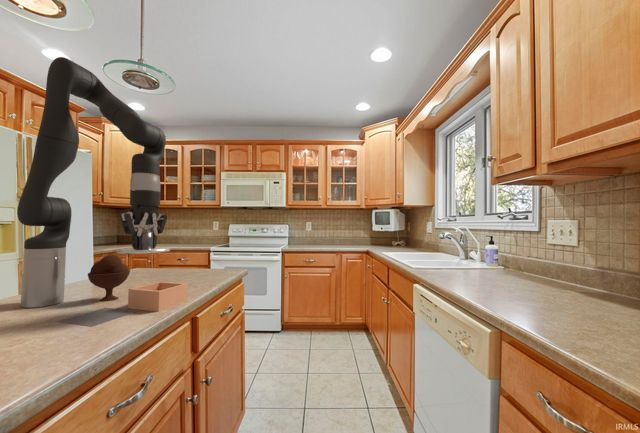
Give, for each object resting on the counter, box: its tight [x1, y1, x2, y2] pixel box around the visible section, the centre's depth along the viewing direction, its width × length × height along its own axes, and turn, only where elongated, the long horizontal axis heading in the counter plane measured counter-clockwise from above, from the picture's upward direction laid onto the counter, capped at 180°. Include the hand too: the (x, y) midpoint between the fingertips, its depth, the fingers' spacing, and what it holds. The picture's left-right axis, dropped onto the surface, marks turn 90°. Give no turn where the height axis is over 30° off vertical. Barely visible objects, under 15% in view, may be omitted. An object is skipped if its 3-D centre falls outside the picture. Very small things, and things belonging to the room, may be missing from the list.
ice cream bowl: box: [87, 254, 131, 303], centre depth 88 cm, size 11×11×15 cm
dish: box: [127, 281, 189, 312], centre depth 82 cm, size 11×11×6 cm
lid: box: [116, 231, 171, 255], centre depth 79 cm, size 13×13×6 cm
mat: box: [55, 307, 139, 328], centre depth 71 cm, size 12×12×1 cm
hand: (144, 248), depth 79 cm, fingers closed on lid, 4 cm apart
